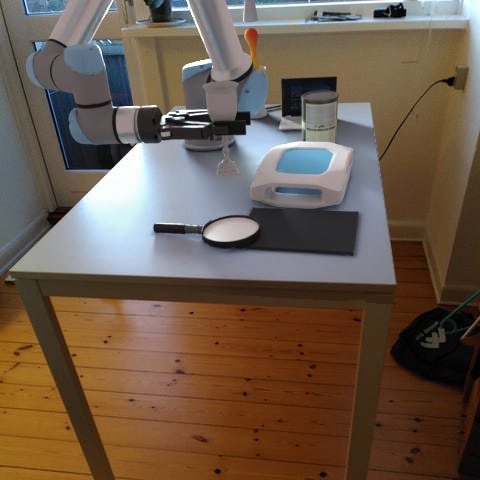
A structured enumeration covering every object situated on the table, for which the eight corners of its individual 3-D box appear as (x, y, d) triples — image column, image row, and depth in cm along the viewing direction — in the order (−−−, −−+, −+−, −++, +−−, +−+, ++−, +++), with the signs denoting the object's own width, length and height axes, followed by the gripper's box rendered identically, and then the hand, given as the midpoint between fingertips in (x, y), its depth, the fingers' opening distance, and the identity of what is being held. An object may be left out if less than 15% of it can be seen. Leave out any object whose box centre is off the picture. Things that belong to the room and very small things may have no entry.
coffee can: (294, 145, 153) (293, 95, 144) (320, 137, 157) (322, 88, 148) (316, 154, 145) (317, 102, 137) (344, 145, 150) (346, 94, 141)
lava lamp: (244, 111, 185) (237, -3, 164) (269, 110, 183) (265, -5, 162) (240, 118, 178) (232, 0, 157) (266, 118, 176) (261, -1, 155)
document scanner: (352, 165, 137) (354, 141, 133) (339, 211, 116) (341, 184, 112) (275, 162, 142) (274, 140, 139) (249, 206, 121) (248, 180, 117)
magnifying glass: (167, 219, 119) (165, 210, 117) (267, 223, 111) (266, 214, 110) (144, 245, 109) (141, 236, 108) (251, 251, 102) (250, 242, 101)
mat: (253, 210, 119) (252, 207, 119) (358, 214, 114) (358, 211, 113) (234, 248, 106) (234, 245, 105) (353, 255, 100) (353, 252, 100)
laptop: (278, 131, 164) (277, 87, 156) (281, 119, 174) (280, 78, 166) (335, 130, 161) (337, 85, 154) (335, 118, 171) (337, 75, 163)
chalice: (247, 167, 115) (242, 80, 105) (239, 178, 110) (232, 89, 99) (216, 165, 117) (208, 80, 106) (207, 177, 112) (197, 89, 101)
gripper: (157, 129, 120) (255, 127, 116) (130, 157, 105) (242, 156, 102) (151, 95, 116) (253, 92, 112) (123, 120, 101) (239, 117, 97)
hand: (247, 122), depth 107 cm, fingers closed on chalice, 6 cm apart
